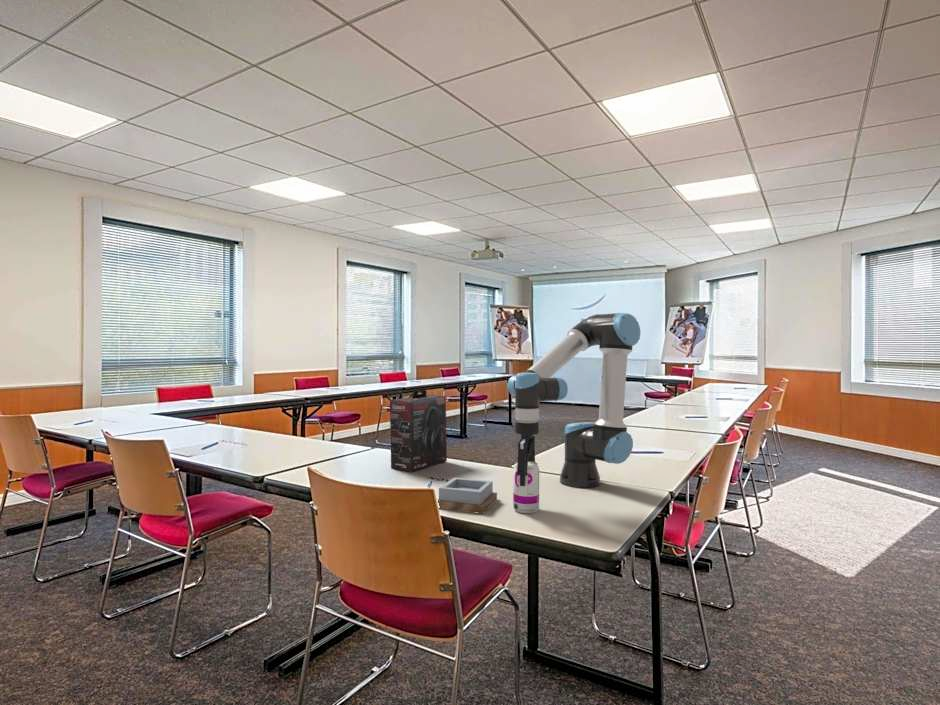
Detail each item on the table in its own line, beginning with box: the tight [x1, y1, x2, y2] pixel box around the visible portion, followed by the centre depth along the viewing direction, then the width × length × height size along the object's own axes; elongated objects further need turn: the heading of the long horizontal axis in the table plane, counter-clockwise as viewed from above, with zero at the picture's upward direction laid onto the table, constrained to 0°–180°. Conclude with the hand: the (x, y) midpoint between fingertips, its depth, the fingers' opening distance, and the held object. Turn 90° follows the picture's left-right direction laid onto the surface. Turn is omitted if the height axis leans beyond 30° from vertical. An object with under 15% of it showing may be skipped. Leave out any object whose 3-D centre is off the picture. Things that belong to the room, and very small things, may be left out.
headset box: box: [389, 388, 448, 473], centre depth 229 cm, size 24×13×33 cm, turn 145°
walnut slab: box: [437, 491, 498, 514], centre depth 174 cm, size 16×16×3 cm
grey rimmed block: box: [438, 477, 494, 505], centre depth 174 cm, size 14×14×4 cm
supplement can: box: [512, 461, 540, 514], centre depth 168 cm, size 8×8×15 cm
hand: (526, 491), depth 168 cm, fingers closed on supplement can, 8 cm apart
